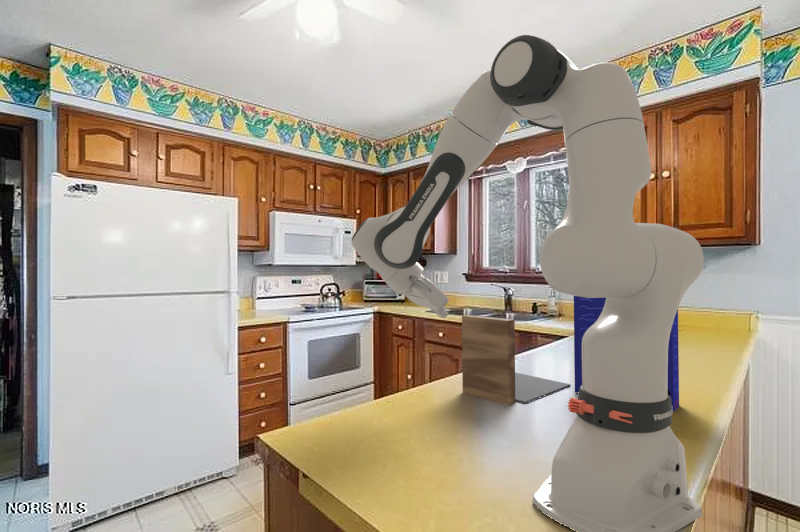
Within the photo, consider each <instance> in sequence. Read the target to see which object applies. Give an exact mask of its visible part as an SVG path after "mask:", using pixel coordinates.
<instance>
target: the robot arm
mask: <svg viewBox="0 0 800 532" xmlns="http://www.w3.org/2000/svg"><path fill="white" fill-rule="evenodd" d="M635 89H636V88H635V87H634V84H633V82H632V79H631V77H630V75H629V73H628V72H627V70H626V69H625V68H624V67H623V66H621V65H619V64H616V63H613V62H598V63H594V64H591V65H589V66H586V67H584V68H581V69H579V68H578V67H577V66H576V65H575V64H574V63H573V62H572V60H571V58H569V57H568V56H566V54H564V53H563V52H562V51H560V50H559V49H557V48H556V47H555V46H554V45H553V44H552V43H551V42H549V41H547V40H546V39H543V38H541V37H539V36H536V35H530V34H521V35H518V36H516V37H514V38H512V39H510V40H509V41H508V42H506V43H505V44H504V45H503V46H502V48H500V50H499V51H498V52H497V53H496V56H495V57H494V60H493V62H492V65H491V69H488V70H486V71H484V72H482V73H481V74H479V76H478V77H477V78H476V79H475V81H474V82H473V83H472V84H471V85H470V86H469V87H468V89H467V90H466V91H465V93H464V94H463V95H462V97H461V98H460V99H459V101H458V102H457V103H456V105H455V106H454V107H453V110H451V113H450V115H449V116H448V117H447V120H446V122H445V123H444V125H443V127H442V129H441V131H440V133H439V136H438V138H437V141H436V143H435V146H434V148H433V152H432V154H431V157H430V160H429V163H428V166H427V169H426V171H425V173H424V176H423V178H422V179H421V180H420V183H419V184H418V187H417V188H416V190H415V191H414V193H413V195H412V196H411V197H410V199H409V200H408V202H407V203H406V205H404V206H402V207H401V208H399V209H395V210H394V211H393V212H392V211H391V212H390V213H388V214H385V215H384V214H383V215H381V216H377V217H368V218H366V219H365V220H363V222H361V224H360V225H359V227H358V228H357V229H356V231H355V232H354V234H353V235H352V237H351V245H352V247H353V249H354V251H355V252H356V254H357V255H358V256H359V257H360V258H361V259H362V261H364V262H365V263H366V265H367V266H369V268H371V269H372V270H374V271H375V272H377V273H378V274H379V276H380V277H381V279H382V280H383V281H384V282H385V284H386V285H387V286H388V287H390V289H392V291H394V293H395V294H397V295H400V294H401V295H404V297H406V298H407V299H408V300H409V301H411V302H412V303H414V304H416V305H418V306H422V307H424V308H427V309H429V310H431V312H433V313H435V315H437V316H438V317H439V318H442V319H446V317H448V316H449V311H447V310H446V309H445V307H446V305H448V303H449V301H450V300H449V298H448V296H447V295H446V294H445V293H444V292H443V291H442V290H441V289H440V288H439V287H438V286H436V285H435V284H434V283H433V282H432V281H431V280H430V279H429V278H426V277H425V276H424V275H423V273H424V269H425V268H424V267H423V266H422V265H421V264H420V263H419V262H418V261H419V260H420V258H421V255H422V252H423V249H424V246H425V244H426V242H427V240H428V237H429V235H430V231H431V226H432V224H433V222H435V220H436V218H437V217H438V215H439V214H440V212H441V211H442V210H443V207H444V206H445V205H446V203H447V201H448V200H449V199H450V197H451V196H452V195H453V194H454V193H455V192H456V191H457V190H458V188H459V187H460V186H462V184H464V182H465V181H466V180H467V179H468V178H469V177H470V176H471V175H472V174H473V173H474V172H475V171H476V170H477V169H479V167H480V166H481V165H482V164H483V163H484V162H485V161H486V160H487V158H488V157H489V156H490V155H491V154H492V152H493V151H494V150H495V148H496V147H497V146H498V144H499V143H500V141H501V140H502V138H503V136H504V135H505V133H507V131H508V130H509V129H510V127H511V126H512V125H514V124H515V123H516V122H518V121H522V120H525V121H526V122H527V123H528V124H529V126H533V127H539V128H542V129H546V130H551V131H561V132H562V131H563V136H564V138H563V139H564V145H565V146H564V147H565V153H566V164H567V171H568V185H569V187H568V188H569V189H568V192H569V193H568V198H567V199H568V200H567V204H566V208H565V211H564V214H563V217H562V218H561V219H560V221H559V223H558V224H557V226H556V227H555V228H554V229H553V230H551V231H550V232H549V233H548V235H547V236H546V238H545V239H544V241H543V243H542V246H541V249H540V252H539V253H540V255H539V264H540V269H541V274H542V276H543V278H544V279H545V282H546V283H547V284H548V285H549V286H550V288H552V290H554V291H556V292H558V293H561V294H566V295H570V296H573V297H574V296H579V297H584V298H606V301H605V305H604V308H603V310H602V313H601V315H600V316H599V318H598V320H597V321H596V322H595V323H594V324H593V325H592V326H591V327H590V328H588V330H587V331H586V332H585V334H584V336H583V339H582V385H581V386H580V389H579V393H577V396H576V397H570V398H569V401H568V402H567V403H568V405H567V407H568V408H567V409H568V410H569V411H568V412H571V413H575V414H576V415H575V416H576V417H575V418H574V420H573V422H572V424H571V425H570V426H569V429H568V430H567V432H566V434H565V436H564V437H563V440H562V441H561V443H560V445H559V447H558V448H557V451H556V452H555V454H554V456H553V459H552V464H551V471H550V472H551V473H550V474H549V476H548V477H547V478H546V479H545V480H544V481H543V483H542V484H541V485H540V486H539V487H538V488H537V490H536V491H535V492H534V494H533V495H532V504H533V503H534V504H535V505H536V506H537V507H538V508H539V509H540V510H541V511H542V512H544V513H545V514H547V515H549V516H550V517H552V518H553V519H555V520H557V521H559V522H560V523H562V524H563V525H566V526H568V527H570V528H572V529H574V530H575V531H578V532H677V531H679V530H680V529H682V528H684V527H685V526H688V525H689V524H691V523H692V522H694V521H696V520H698V519H699V518H701V517H702V516H703V512H702V506H701V504H700V503H698V502H697V501H695V500H694V499H693V498H691V497H690V496H689V489H688V487H689V486H688V475H687V474H688V473H687V462H686V449H685V447H684V445H683V443H682V442H681V441H680V440H679V439H678V437H677V436H676V435H675V433H674V432H673V430H672V427H671V425H672V423H673V413H674V412H673V408H672V405H671V398H670V396H669V395H668V393H667V390H668V345H669V338H670V332H671V328H672V325H673V321H674V318H675V315H676V312H677V309H678V310H679V307H680V304H681V301H682V299H683V297H684V295H685V294H686V292H687V290H688V289H689V288H690V287H691V286H692V284H693V283H694V282H696V280H697V279H698V278H699V276H700V274H701V273H702V270H703V268H704V261H705V260H704V259H705V258H704V252H703V249H702V246H701V244H700V243H699V241H698V240H697V239H696V238H695V237H694V236H693V235H692V234H690V233H688V232H686V231H684V230H681V229H678V228H676V227H673V226H669V225H665V224H662V223H651V222H650V223H648V222H647V223H646V222H635V220H634V205H635V204H634V203H635V199H636V197H637V196H636V195H637V193H639V192H640V191H641V190H643V188H644V187H645V186H646V185H647V184H648V183H649V181H650V179H651V176H652V165H651V158H650V152H649V151H650V150H649V146H648V139H647V135H646V129H645V123H644V122H645V121H644V118H643V112H642V109H641V105H640V102H639V98H638V95H637V92H636V90H635ZM534 504H533V505H534ZM535 505H534V506H535ZM536 506H535V507H536ZM537 507H536V508H537ZM538 508H537V509H538ZM539 509H538V510H539ZM540 510H539V511H540ZM541 511H540V512H541ZM542 512H541V513H542ZM545 514H544V515H545Z"/></svg>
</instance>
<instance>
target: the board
mask: <svg viewBox="0 0 800 532" xmlns="http://www.w3.org/2000/svg"><path fill="white" fill-rule="evenodd" d="M515 321H516V320H515V319H511V318H503V317H502V318H501V317H494V316H484V315H483V316H482V315H471V314H469V315H461V351H462V352H461V355H462V359H461V360H462V361H461V362H462V364H461V365H462V369H461V370H462V372H461V374H462V393H463V394H466V395H470V396H474V397H477V398H481V399H484V400H488V401H492V402H493V403H497V402H498V404H502V405H504V406H510V404H511V405H514V404H516V401H515V373H516V341H515V338H516V337H515V335H516V334H515V330H516V326H515V325H516V324H515ZM513 403H514V404H513Z"/></svg>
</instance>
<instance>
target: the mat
mask: <svg viewBox="0 0 800 532" xmlns="http://www.w3.org/2000/svg"><path fill="white" fill-rule="evenodd" d="M568 386H570V387H571V384H570V383H566V382H561V381H558V380H552V379H548V378H544V377H537V376H533V375H528V374H524V373H519V372H515V402H517V401H518V403H520V402H522V403H521V404H524V403H526V404H528V403H530V402H529V401H531V402H533V401H532V400H534V399H536V400H538V399H537V398H539V397H541V398H543V397H542V396H544V395H546V396H548V395H547V394H549V393H552V392H554V393H556V392H555V391H557V392H559V391H561V390H560V389H562V390H564V389H563V388H565V387H567V388H569V387H568ZM565 389H566V388H565ZM558 390H559V391H558ZM552 394H553V393H552ZM549 395H550V394H549ZM544 397H545V396H544ZM539 399H540V398H539ZM534 401H535V400H534ZM527 402H528V403H527Z"/></svg>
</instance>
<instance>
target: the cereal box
mask: <svg viewBox="0 0 800 532" xmlns="http://www.w3.org/2000/svg"><path fill="white" fill-rule="evenodd" d="M605 301H606V298H584V297H579V296H573V342H574V343H573V350H574V352H573V353H574V354H573V357H574V360H573V361H574V393H575V392H579V389H580V386H581V385H582V339H583V336H584V334H585V332H586V331H587V330H588V328H590V327H591V326H592V325H593V324H594V323H595V322H596V321H597V320H598V318H599V316H600V315H601V313H602V310H603V308H604V305H605ZM679 357H680V356H679V308H678V309H677V312H676V315H675V318H674V321H673V325H672V328H671V332H670V338H669V345H668V390H667V393H668V395H669V396H670V398H671V405H672V408H673V413H674V412H675V411H676V410H677V409H678V407H679V406H680V369H679V367H680V366H679V364H680V363H679V361H680V360H679Z"/></svg>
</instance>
